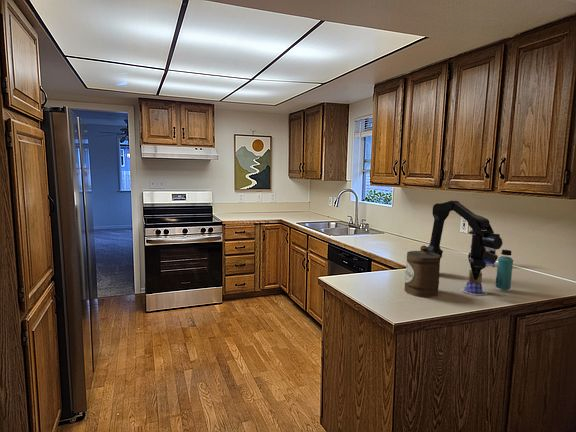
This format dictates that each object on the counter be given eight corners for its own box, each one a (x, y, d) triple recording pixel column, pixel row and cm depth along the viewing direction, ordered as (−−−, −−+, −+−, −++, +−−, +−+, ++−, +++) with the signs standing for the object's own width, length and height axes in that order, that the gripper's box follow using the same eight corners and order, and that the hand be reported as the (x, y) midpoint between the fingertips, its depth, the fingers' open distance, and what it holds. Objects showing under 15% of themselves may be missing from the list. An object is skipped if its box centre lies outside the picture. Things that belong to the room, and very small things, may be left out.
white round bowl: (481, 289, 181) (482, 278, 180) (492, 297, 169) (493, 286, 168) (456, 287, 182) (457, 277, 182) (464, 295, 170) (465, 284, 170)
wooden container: (405, 285, 182) (408, 241, 179) (437, 289, 177) (441, 244, 174) (403, 294, 168) (406, 247, 166) (438, 299, 163) (442, 250, 160)
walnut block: (469, 282, 174) (470, 272, 173) (468, 279, 178) (469, 269, 178) (481, 283, 172) (482, 273, 171) (479, 281, 177) (480, 270, 176)
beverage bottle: (512, 290, 178) (516, 250, 175) (507, 293, 173) (512, 252, 171) (497, 287, 183) (501, 248, 180) (492, 290, 178) (497, 249, 175)
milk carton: (481, 265, 224) (484, 233, 222) (479, 263, 231) (482, 231, 228) (494, 267, 222) (497, 234, 220) (491, 264, 229) (495, 232, 226)
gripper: (500, 250, 161) (496, 285, 163) (495, 243, 178) (491, 274, 180) (472, 247, 165) (468, 281, 168) (469, 240, 183) (466, 271, 185)
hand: (474, 277), depth 175 cm, fingers open, 9 cm apart
